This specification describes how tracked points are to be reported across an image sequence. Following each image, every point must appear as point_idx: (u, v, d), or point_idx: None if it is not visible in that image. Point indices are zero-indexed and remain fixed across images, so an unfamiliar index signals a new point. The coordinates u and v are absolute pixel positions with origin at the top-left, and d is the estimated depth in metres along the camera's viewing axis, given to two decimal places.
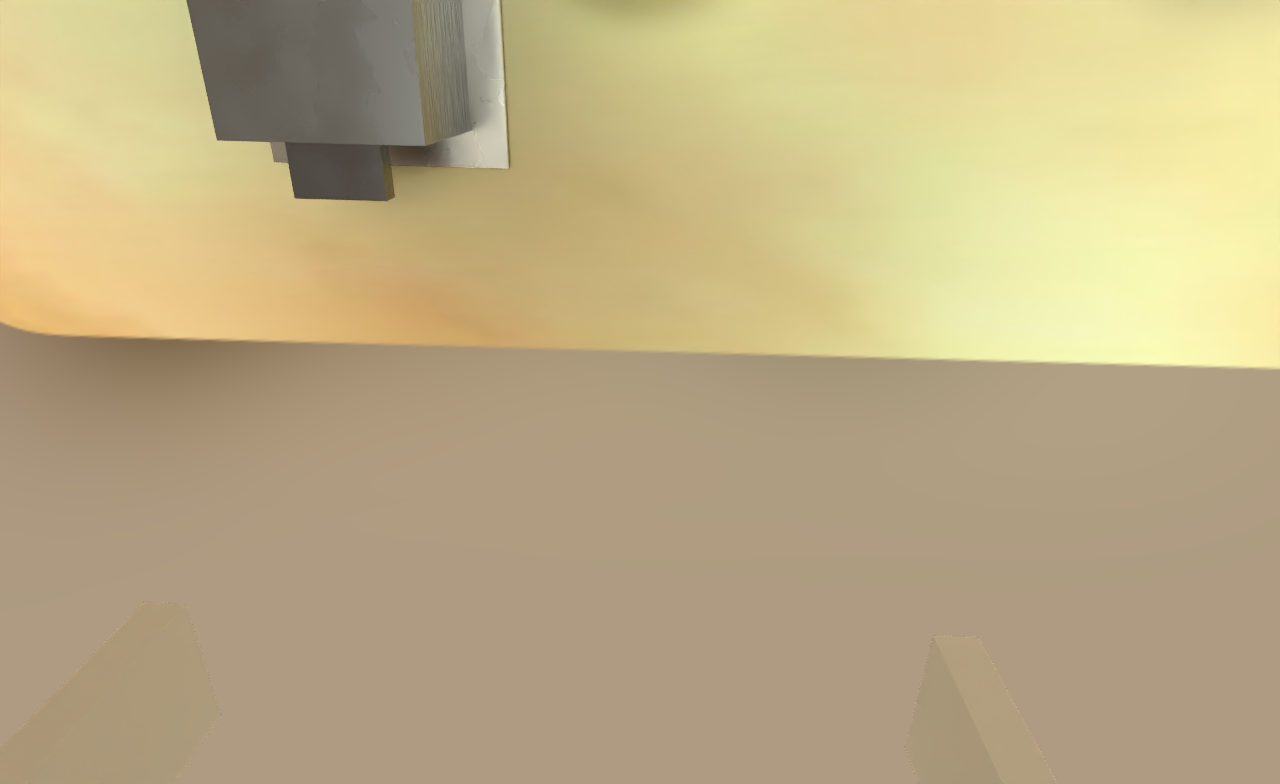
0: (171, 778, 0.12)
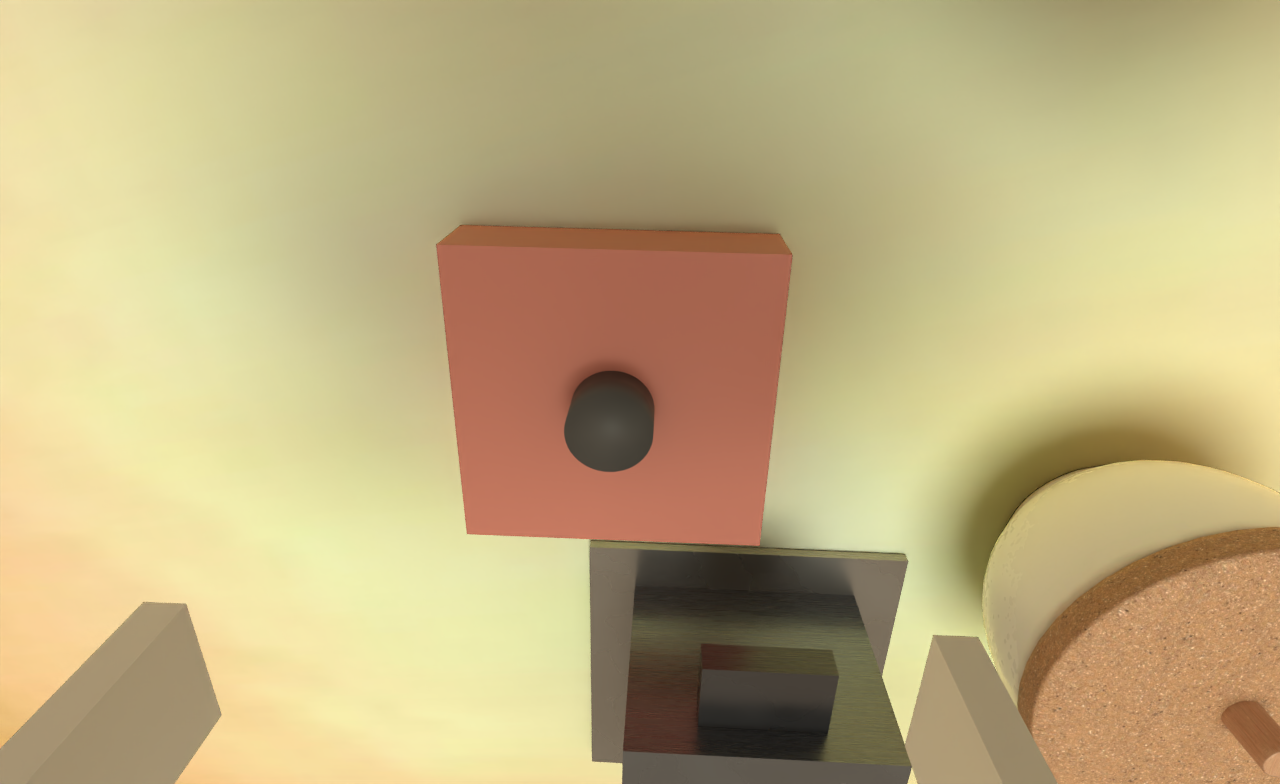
0: (171, 778, 0.12)
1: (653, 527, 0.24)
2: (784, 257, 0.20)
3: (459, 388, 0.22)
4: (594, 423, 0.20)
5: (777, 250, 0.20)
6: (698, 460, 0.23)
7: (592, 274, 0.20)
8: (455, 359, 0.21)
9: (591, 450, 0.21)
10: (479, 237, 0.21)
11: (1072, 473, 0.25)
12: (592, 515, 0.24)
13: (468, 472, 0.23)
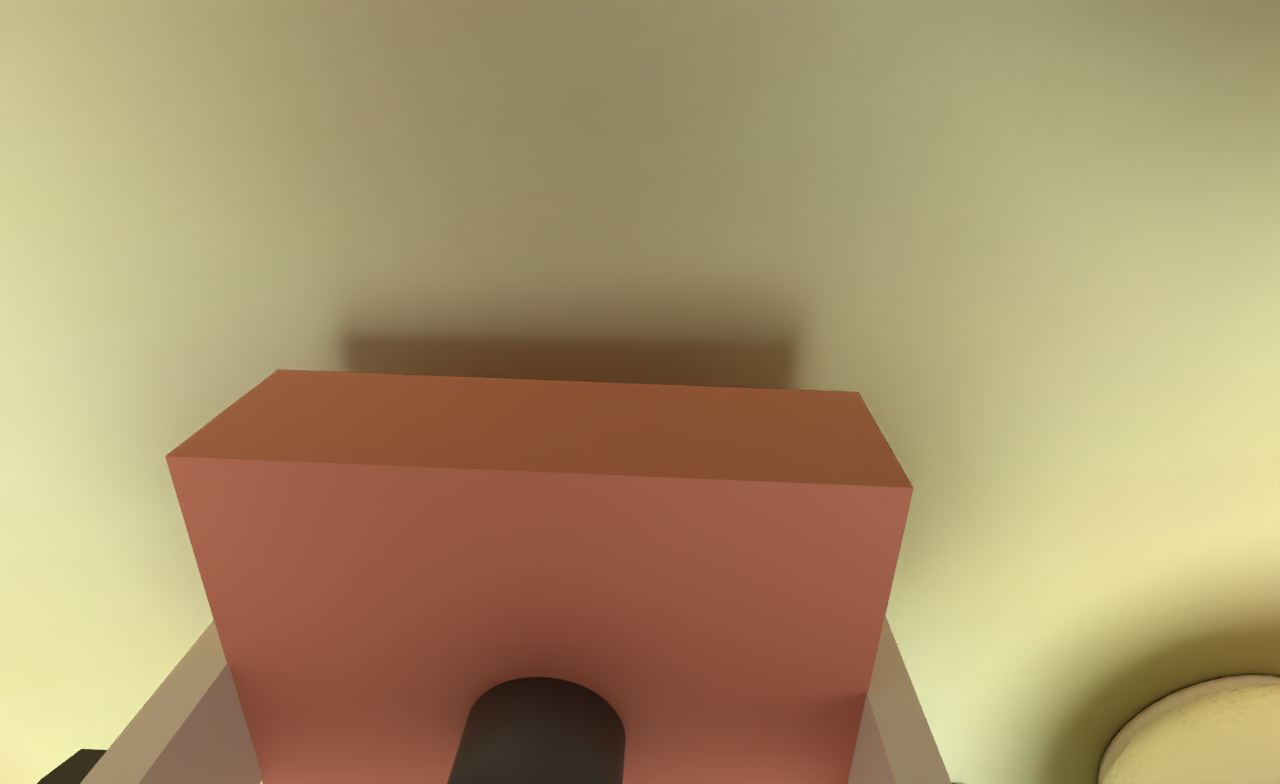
0: None
1: None
2: (896, 493, 0.09)
3: (252, 697, 0.11)
4: None
5: (876, 467, 0.10)
6: None
7: (494, 516, 0.10)
8: (237, 652, 0.11)
9: None
10: (273, 426, 0.10)
11: (1203, 685, 0.18)
12: None
13: None
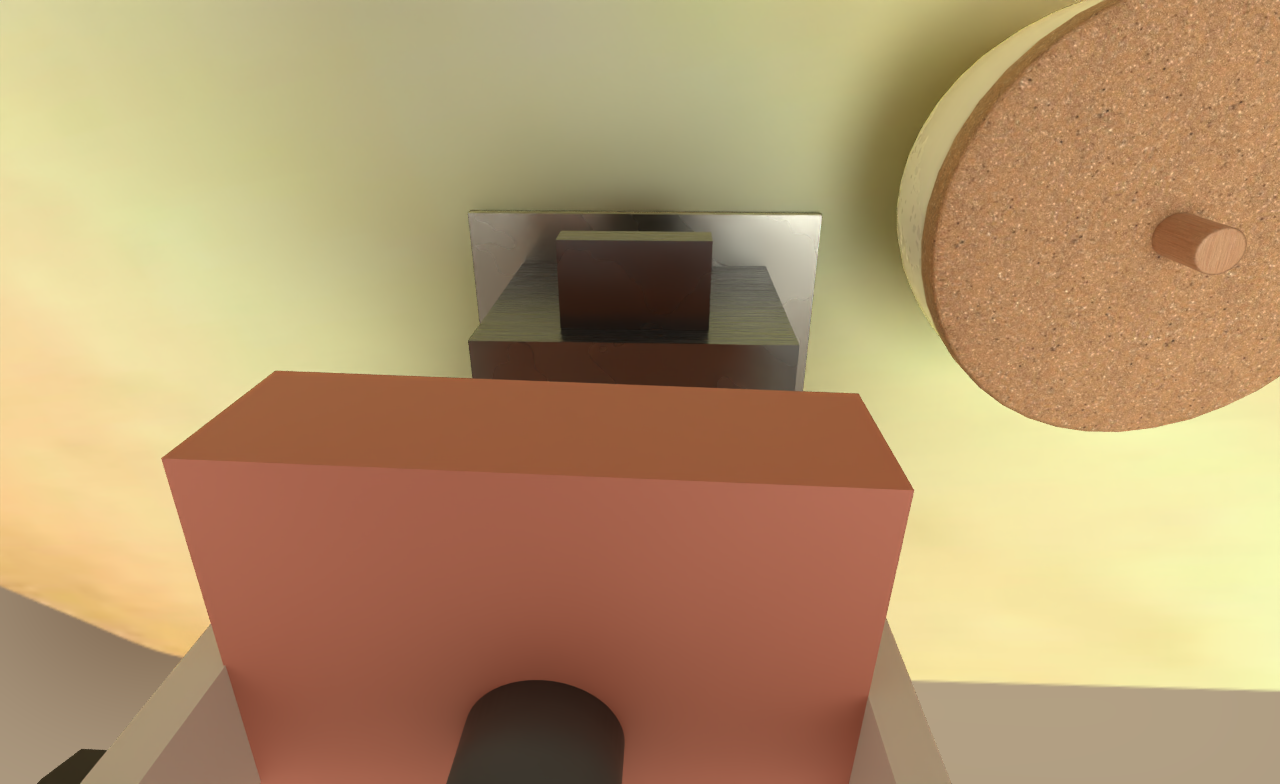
0: None
1: None
2: (897, 495, 0.09)
3: (249, 700, 0.11)
4: None
5: (877, 470, 0.10)
6: None
7: (492, 518, 0.10)
8: (234, 655, 0.11)
9: None
10: (271, 427, 0.10)
11: None
12: None
13: None
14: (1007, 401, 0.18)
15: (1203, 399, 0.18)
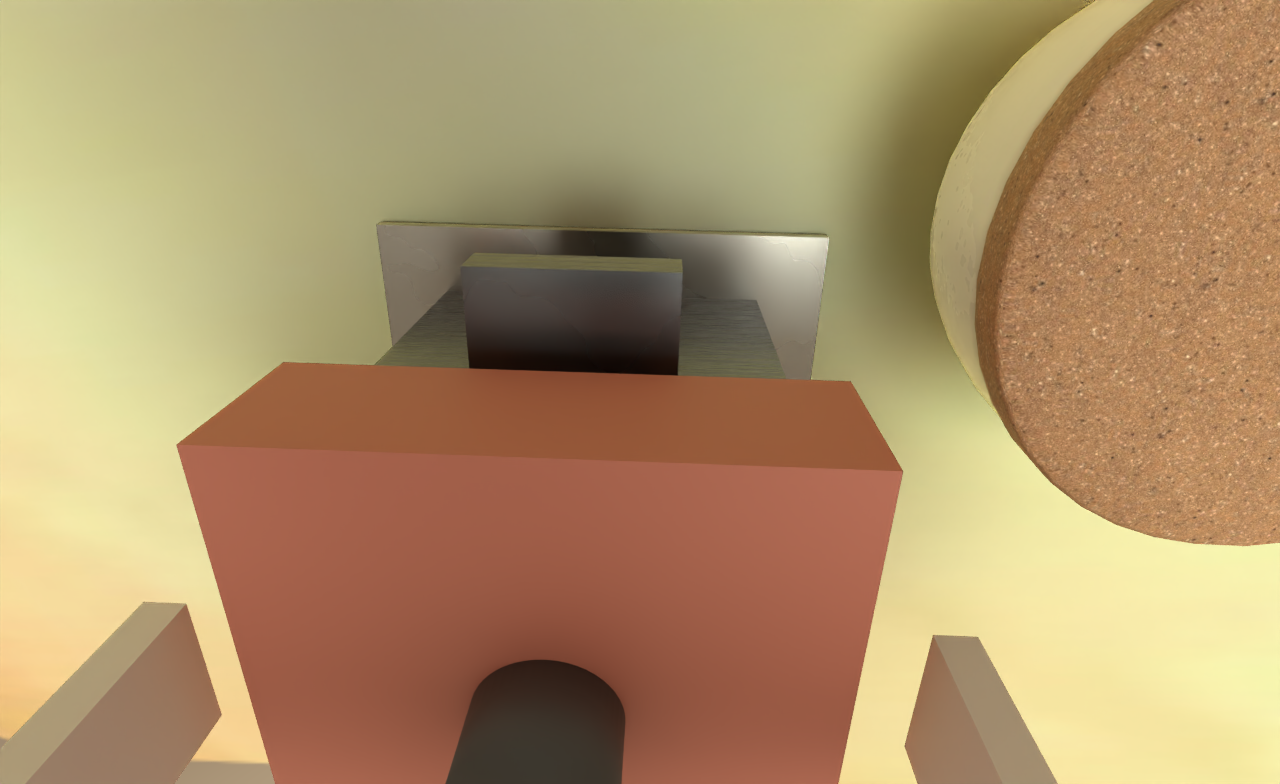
0: (171, 778, 0.12)
1: None
2: (886, 476, 0.10)
3: (260, 681, 0.12)
4: None
5: (867, 452, 0.10)
6: None
7: (496, 500, 0.10)
8: (246, 637, 0.11)
9: None
10: (281, 415, 0.11)
11: None
12: None
13: None
14: (1090, 503, 0.13)
15: None
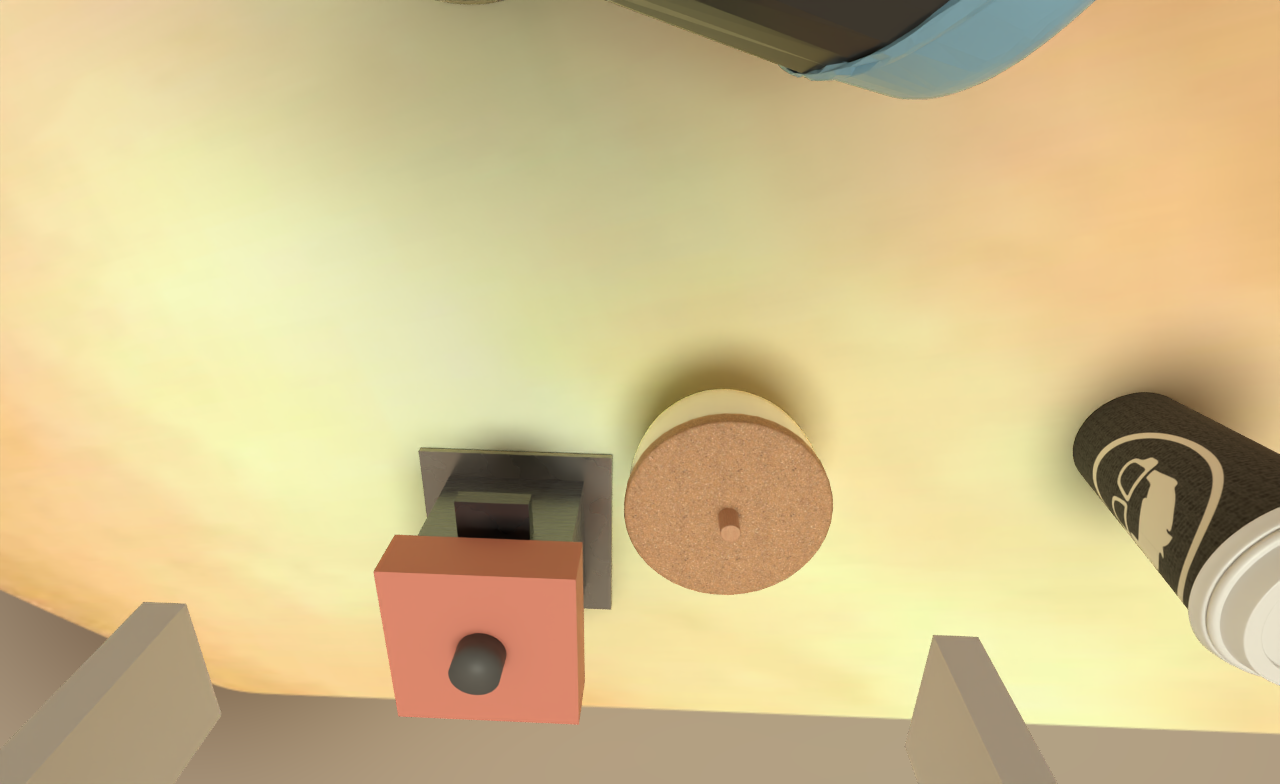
0: (171, 778, 0.12)
1: (513, 713, 0.39)
2: (571, 581, 0.35)
3: (390, 640, 0.37)
4: (465, 671, 0.35)
5: (570, 572, 0.35)
6: (535, 678, 0.37)
7: (463, 586, 0.35)
8: (387, 626, 0.36)
9: (465, 684, 0.36)
10: (400, 559, 0.36)
11: None
12: (474, 707, 0.38)
13: (397, 683, 0.38)
14: (671, 580, 0.38)
15: (761, 582, 0.38)
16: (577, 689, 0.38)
